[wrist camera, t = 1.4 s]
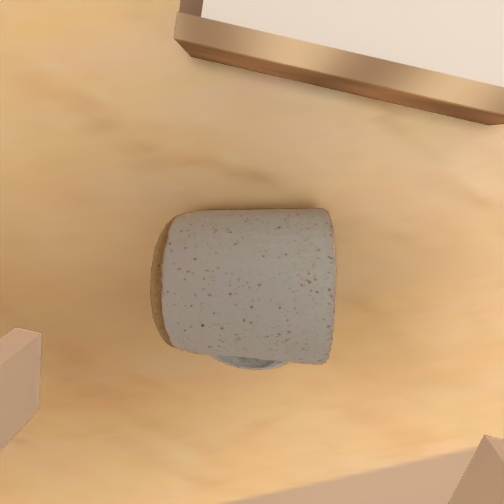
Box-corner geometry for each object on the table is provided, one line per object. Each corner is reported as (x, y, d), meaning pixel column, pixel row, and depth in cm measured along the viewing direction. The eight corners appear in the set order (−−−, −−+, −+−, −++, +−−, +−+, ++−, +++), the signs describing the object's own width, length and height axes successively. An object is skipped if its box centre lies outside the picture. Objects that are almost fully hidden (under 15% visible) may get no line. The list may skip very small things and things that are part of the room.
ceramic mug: (179, 199, 20) (128, 234, 13) (321, 196, 20) (349, 230, 13) (194, 355, 24) (160, 451, 17) (316, 355, 23) (336, 456, 16)
